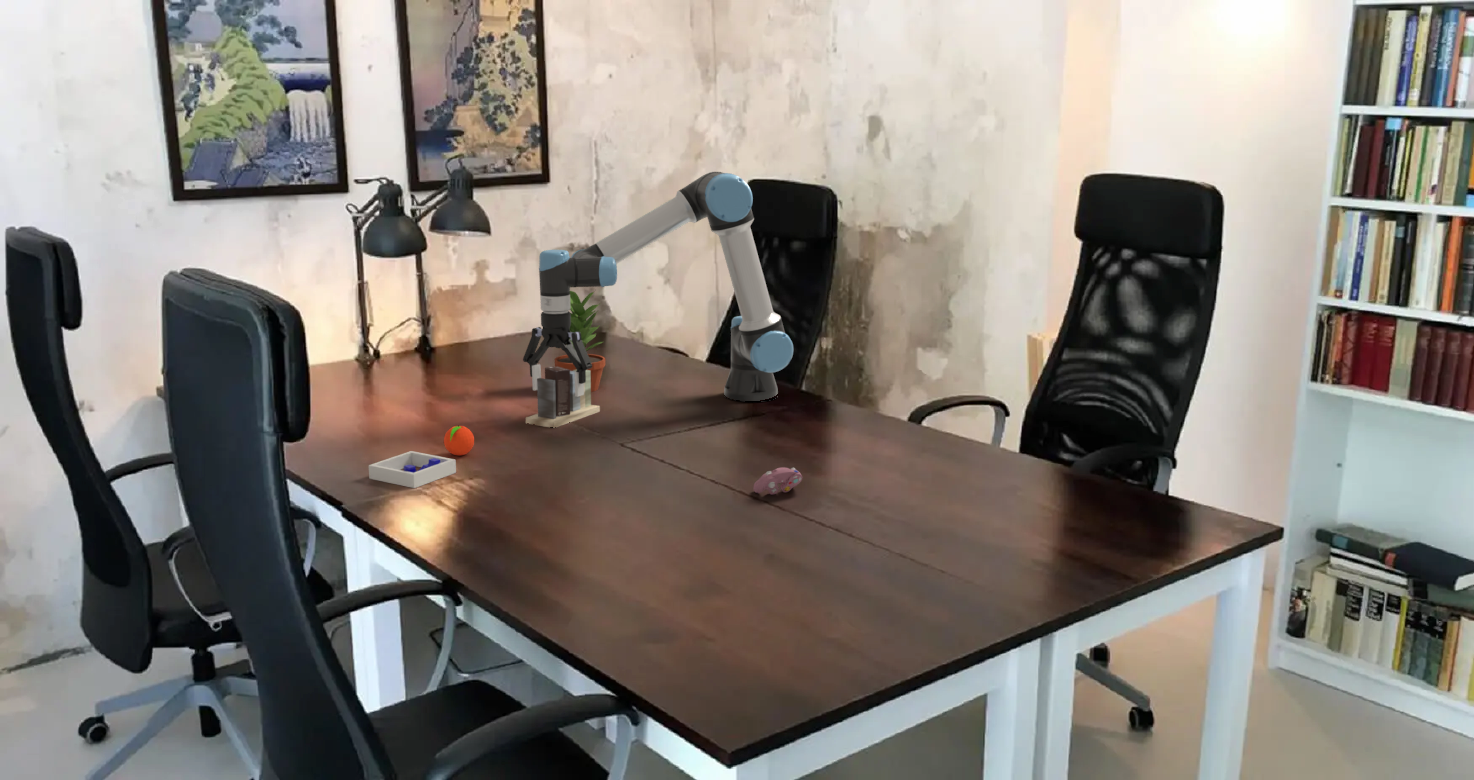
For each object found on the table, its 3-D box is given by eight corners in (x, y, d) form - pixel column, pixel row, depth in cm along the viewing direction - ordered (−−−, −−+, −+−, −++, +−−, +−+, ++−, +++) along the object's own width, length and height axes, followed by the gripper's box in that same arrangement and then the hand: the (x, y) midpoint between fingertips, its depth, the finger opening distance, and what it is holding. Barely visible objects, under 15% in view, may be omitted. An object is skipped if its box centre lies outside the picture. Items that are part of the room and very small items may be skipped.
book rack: (599, 411, 320) (599, 369, 317) (554, 428, 303) (553, 383, 300) (572, 407, 324) (571, 365, 321) (525, 423, 307) (524, 379, 304)
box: (571, 414, 310) (570, 369, 307) (556, 417, 307) (555, 371, 304) (559, 410, 315) (558, 365, 312) (544, 412, 312) (543, 367, 309)
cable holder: (430, 474, 264) (430, 456, 264) (440, 477, 262) (440, 459, 261) (400, 482, 258) (399, 464, 257) (410, 485, 256) (409, 467, 255)
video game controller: (759, 503, 252) (767, 479, 248) (750, 489, 255) (758, 464, 251) (799, 497, 257) (808, 473, 253) (789, 482, 260) (798, 458, 256)
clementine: (465, 461, 274) (464, 431, 272) (437, 459, 275) (435, 429, 273) (479, 451, 281) (478, 422, 280) (452, 450, 282) (450, 420, 281)
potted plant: (617, 387, 348) (616, 284, 341) (583, 397, 335) (582, 290, 328) (577, 380, 355) (576, 279, 349) (543, 390, 343) (541, 286, 336)
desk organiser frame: (456, 472, 265) (455, 459, 264) (414, 488, 254) (413, 474, 253) (411, 463, 271) (411, 450, 270) (369, 478, 260) (368, 465, 259)
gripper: (507, 309, 307) (510, 389, 312) (587, 317, 296) (589, 401, 301) (525, 305, 314) (528, 384, 319) (604, 313, 302) (606, 395, 307)
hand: (558, 392), depth 310 cm, fingers open, 13 cm apart
